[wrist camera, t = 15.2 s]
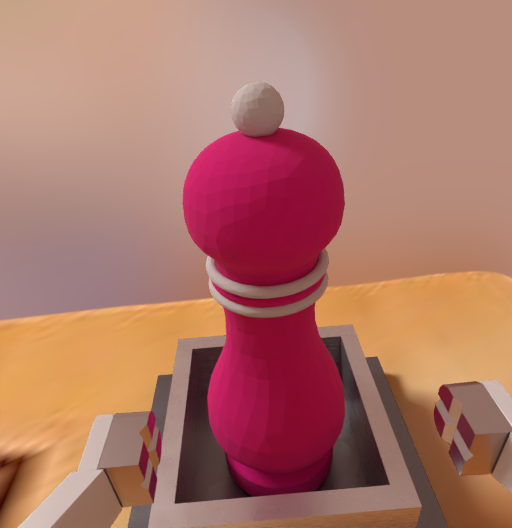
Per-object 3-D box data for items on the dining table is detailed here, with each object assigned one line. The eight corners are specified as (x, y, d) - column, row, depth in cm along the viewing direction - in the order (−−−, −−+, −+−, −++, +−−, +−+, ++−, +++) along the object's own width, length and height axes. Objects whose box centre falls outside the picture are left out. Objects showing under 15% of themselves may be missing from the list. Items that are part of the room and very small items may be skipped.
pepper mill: (198, 495, 22) (92, 108, 11) (239, 390, 28) (196, 69, 17) (333, 531, 20) (365, 105, 9) (347, 410, 26) (376, 62, 15)
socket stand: (122, 608, 19) (88, 556, 16) (162, 389, 30) (146, 334, 27) (457, 578, 19) (484, 521, 16) (375, 370, 30) (382, 314, 27)
